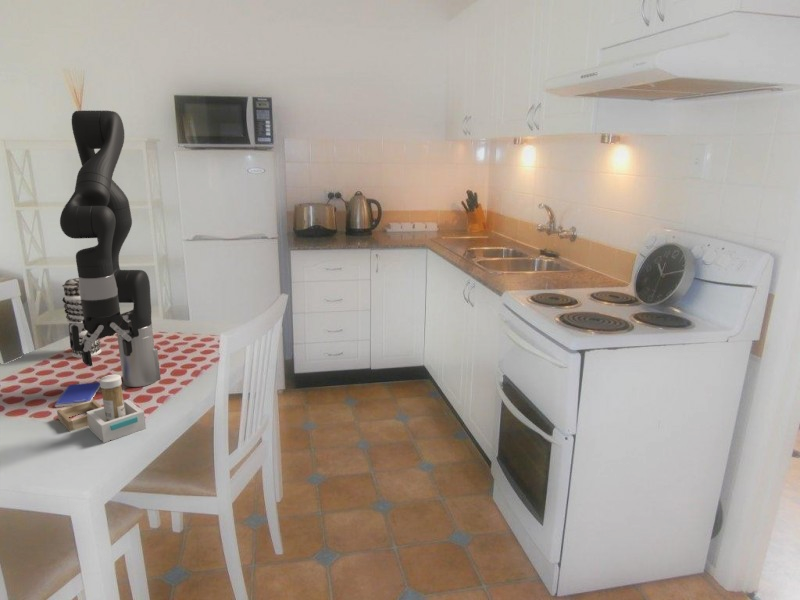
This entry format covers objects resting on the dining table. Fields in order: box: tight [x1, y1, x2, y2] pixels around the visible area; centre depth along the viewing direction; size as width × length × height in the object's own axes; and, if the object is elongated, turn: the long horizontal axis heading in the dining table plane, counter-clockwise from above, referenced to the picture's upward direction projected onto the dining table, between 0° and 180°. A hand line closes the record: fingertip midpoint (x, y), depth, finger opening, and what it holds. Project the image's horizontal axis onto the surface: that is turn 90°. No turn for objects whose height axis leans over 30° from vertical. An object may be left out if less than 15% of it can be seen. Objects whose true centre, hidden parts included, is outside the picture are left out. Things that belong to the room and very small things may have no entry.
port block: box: [86, 399, 147, 444], centre depth 134 cm, size 10×10×4 cm
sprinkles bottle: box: [99, 374, 126, 421], centre depth 133 cm, size 5×5×13 cm
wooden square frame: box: [56, 399, 103, 432], centre depth 139 cm, size 9×9×2 cm
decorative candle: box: [61, 277, 102, 359], centre depth 179 cm, size 9×9×25 cm
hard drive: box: [54, 382, 101, 408], centre depth 152 cm, size 2×8×12 cm
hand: (108, 360), depth 130 cm, fingers open, 8 cm apart
